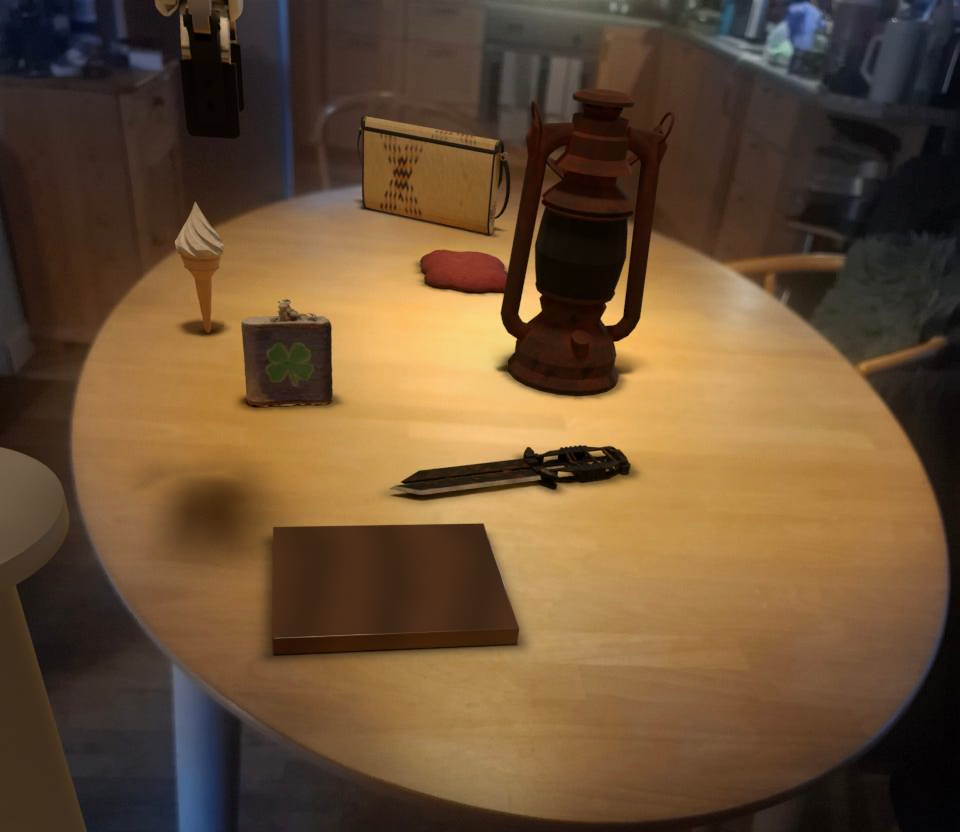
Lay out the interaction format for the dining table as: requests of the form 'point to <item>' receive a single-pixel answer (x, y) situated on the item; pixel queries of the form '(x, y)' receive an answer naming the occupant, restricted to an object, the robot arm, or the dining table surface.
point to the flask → (287, 358)
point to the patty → (464, 271)
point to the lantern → (581, 243)
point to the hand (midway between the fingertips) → (218, 122)
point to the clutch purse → (432, 174)
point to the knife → (520, 471)
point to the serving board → (387, 588)
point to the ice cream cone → (200, 257)
